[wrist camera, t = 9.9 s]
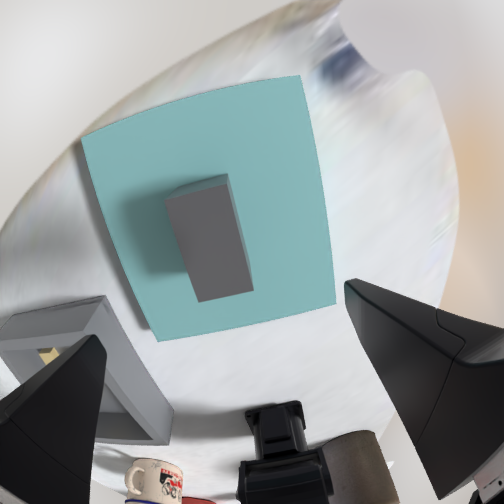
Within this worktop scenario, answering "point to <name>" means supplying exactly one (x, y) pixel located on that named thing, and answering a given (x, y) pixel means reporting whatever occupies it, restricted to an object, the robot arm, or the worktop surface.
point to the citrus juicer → (195, 501)
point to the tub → (116, 375)
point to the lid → (217, 208)
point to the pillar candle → (359, 470)
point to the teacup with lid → (153, 482)
